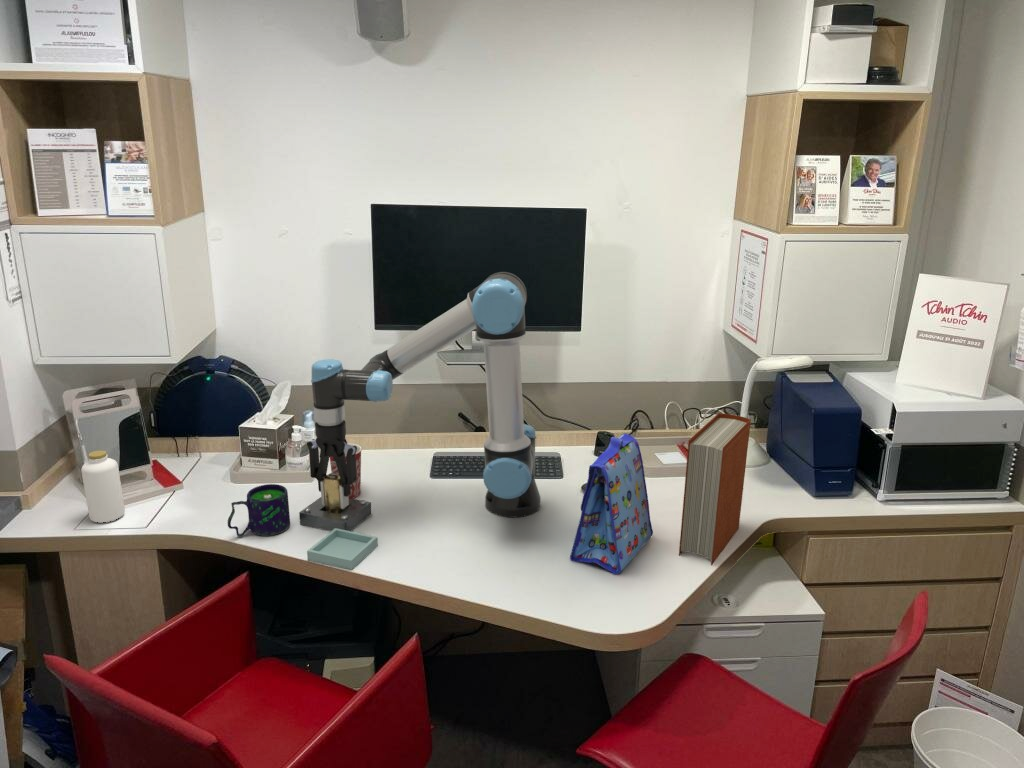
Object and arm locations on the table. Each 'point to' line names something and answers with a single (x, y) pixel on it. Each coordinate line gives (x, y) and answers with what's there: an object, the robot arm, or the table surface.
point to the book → (714, 485)
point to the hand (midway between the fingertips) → (335, 504)
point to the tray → (342, 548)
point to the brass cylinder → (332, 493)
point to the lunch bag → (614, 508)
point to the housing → (335, 515)
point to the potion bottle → (102, 487)
